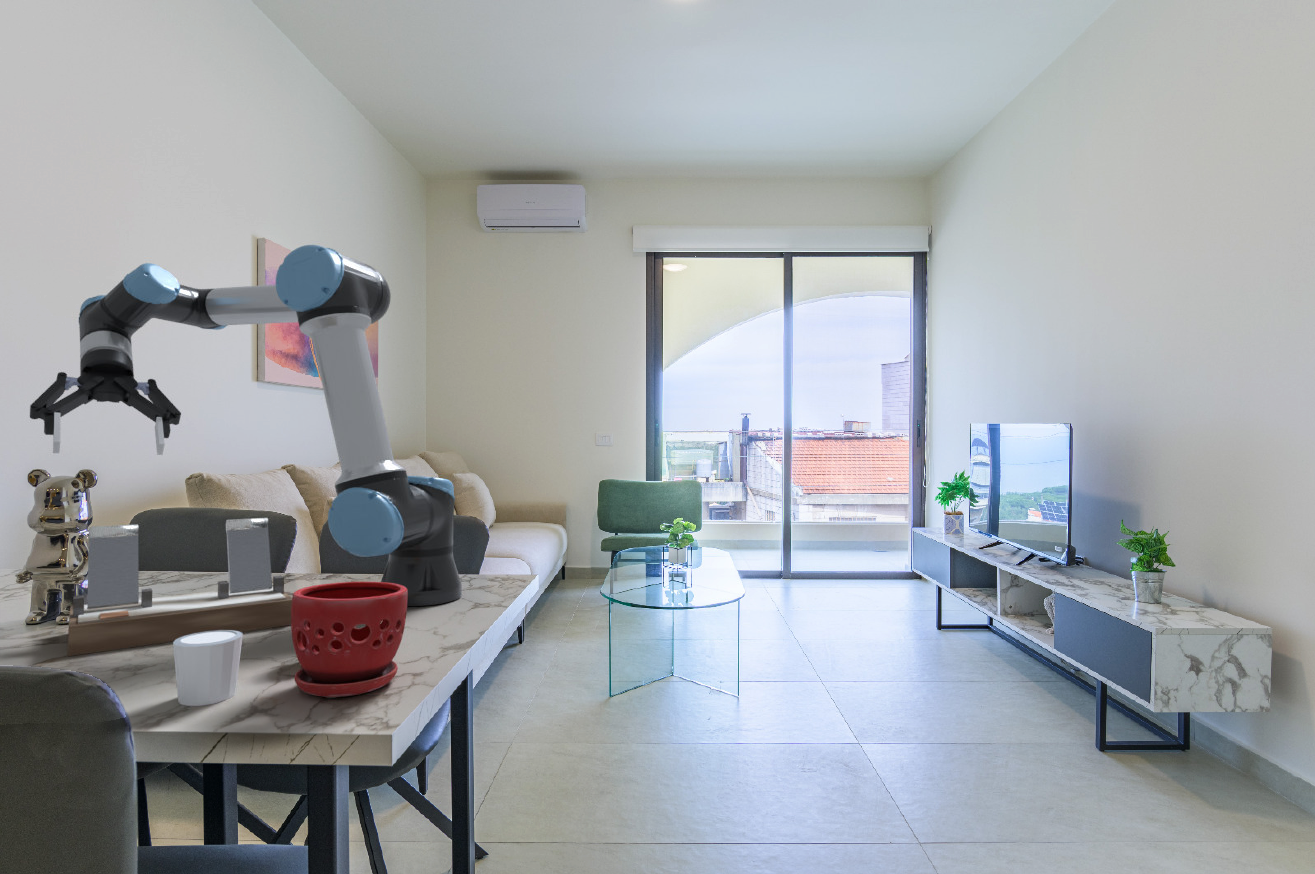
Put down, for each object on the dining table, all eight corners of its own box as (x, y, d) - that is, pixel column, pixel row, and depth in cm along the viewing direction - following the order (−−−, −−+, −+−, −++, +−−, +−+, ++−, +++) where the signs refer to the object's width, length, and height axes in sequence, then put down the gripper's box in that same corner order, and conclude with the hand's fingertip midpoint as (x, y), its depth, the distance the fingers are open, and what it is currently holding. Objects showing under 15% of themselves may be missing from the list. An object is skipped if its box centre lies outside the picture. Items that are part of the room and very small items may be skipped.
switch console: (69, 633, 106) (70, 589, 106) (275, 607, 123) (276, 569, 123) (67, 656, 95) (68, 607, 95) (294, 624, 113) (294, 583, 113)
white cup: (171, 693, 82) (172, 634, 82) (239, 682, 86) (240, 625, 86) (171, 712, 76) (173, 648, 76) (244, 699, 80) (245, 639, 80)
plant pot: (399, 699, 81) (401, 597, 81) (275, 708, 78) (277, 601, 78) (410, 664, 94) (412, 575, 94) (304, 670, 91) (306, 579, 91)
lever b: (87, 609, 102) (88, 529, 107) (137, 604, 106) (137, 526, 110) (87, 606, 101) (88, 524, 105) (138, 600, 105) (138, 522, 109)
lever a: (229, 594, 114) (225, 522, 118) (270, 589, 118) (265, 520, 122) (231, 590, 112) (227, 517, 117) (272, 586, 116) (267, 515, 120)
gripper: (185, 383, 136) (196, 464, 125) (12, 370, 120) (7, 462, 109) (191, 354, 133) (203, 435, 121) (14, 337, 116) (8, 429, 105)
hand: (110, 448), depth 115 cm, fingers open, 13 cm apart
